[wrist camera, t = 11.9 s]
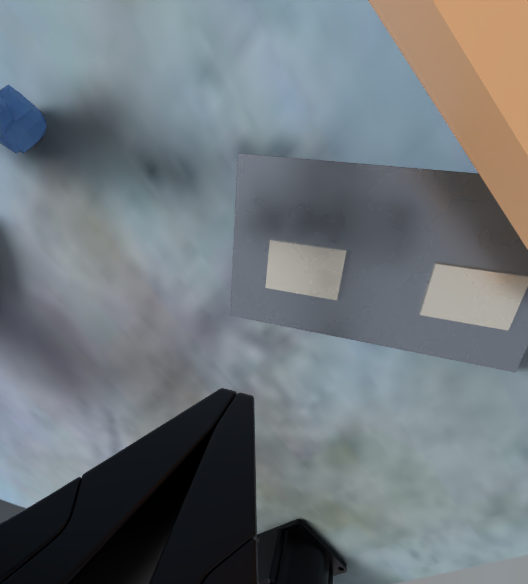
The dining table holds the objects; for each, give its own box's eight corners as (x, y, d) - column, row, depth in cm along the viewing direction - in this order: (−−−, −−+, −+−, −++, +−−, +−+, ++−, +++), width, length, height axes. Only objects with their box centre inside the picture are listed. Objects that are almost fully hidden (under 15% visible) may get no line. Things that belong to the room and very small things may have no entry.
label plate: (589, 183, 14) (608, 184, 13) (507, 362, 18) (517, 374, 17) (243, 154, 18) (236, 153, 17) (235, 309, 22) (228, 316, 21)
